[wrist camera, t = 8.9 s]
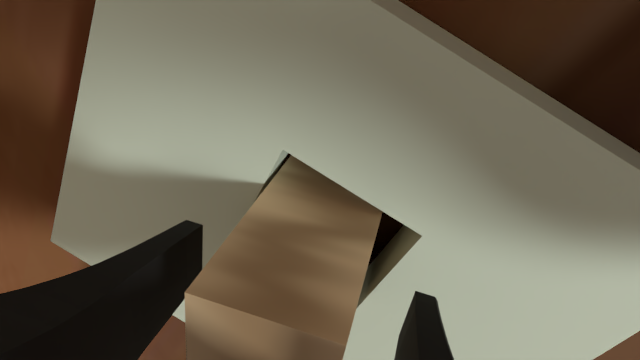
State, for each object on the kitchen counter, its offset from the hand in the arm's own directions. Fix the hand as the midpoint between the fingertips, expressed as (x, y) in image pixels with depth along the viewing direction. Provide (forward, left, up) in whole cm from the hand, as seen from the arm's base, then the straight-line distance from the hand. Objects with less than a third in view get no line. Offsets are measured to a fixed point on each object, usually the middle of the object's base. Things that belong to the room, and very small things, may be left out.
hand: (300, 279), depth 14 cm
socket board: (0, 0, -4) cm, 4 cm away
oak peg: (0, 0, -4) cm, 4 cm away
